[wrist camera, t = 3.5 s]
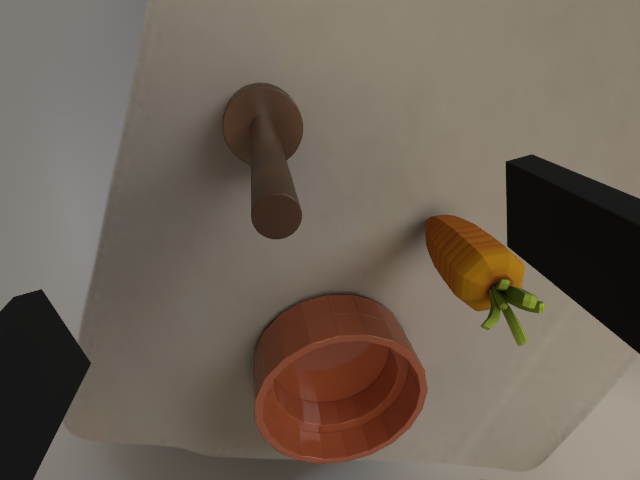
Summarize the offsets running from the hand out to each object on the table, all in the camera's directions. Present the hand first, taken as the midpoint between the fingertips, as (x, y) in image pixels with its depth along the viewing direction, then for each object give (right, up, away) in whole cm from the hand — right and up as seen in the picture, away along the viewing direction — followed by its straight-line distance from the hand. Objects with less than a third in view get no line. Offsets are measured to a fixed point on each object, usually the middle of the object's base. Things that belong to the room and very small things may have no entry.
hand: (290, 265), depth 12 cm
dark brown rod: (-4, +10, +19) cm, 22 cm away
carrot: (+11, +3, +25) cm, 28 cm away
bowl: (+2, -11, +30) cm, 32 cm away
